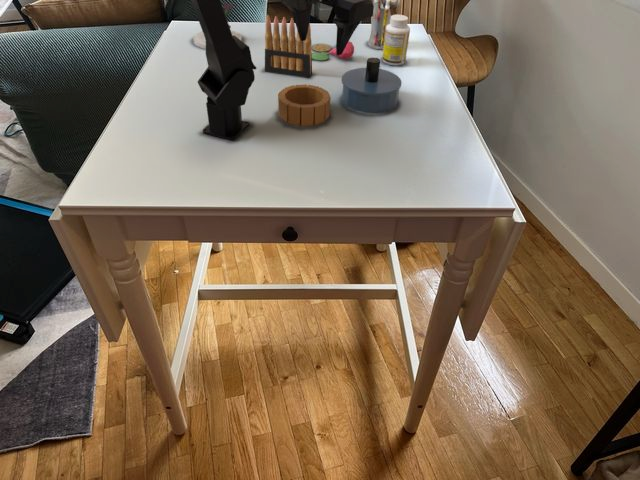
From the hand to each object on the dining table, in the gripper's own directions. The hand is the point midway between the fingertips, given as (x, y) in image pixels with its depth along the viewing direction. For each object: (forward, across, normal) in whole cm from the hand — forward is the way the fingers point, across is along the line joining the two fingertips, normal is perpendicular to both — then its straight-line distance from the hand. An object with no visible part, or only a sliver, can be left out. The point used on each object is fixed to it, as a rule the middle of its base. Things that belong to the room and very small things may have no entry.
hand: (320, 47), depth 90 cm
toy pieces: (+12, -16, +22) cm, 30 cm away
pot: (+12, +6, +9) cm, 16 cm away
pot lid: (+7, +6, +9) cm, 13 cm away
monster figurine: (+12, -42, +7) cm, 44 cm away
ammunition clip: (+12, -16, +7) cm, 21 cm away
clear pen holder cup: (+12, -12, +36) cm, 40 cm away
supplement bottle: (+12, -3, +30) cm, 32 cm away
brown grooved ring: (+12, +1, -5) cm, 13 cm away
